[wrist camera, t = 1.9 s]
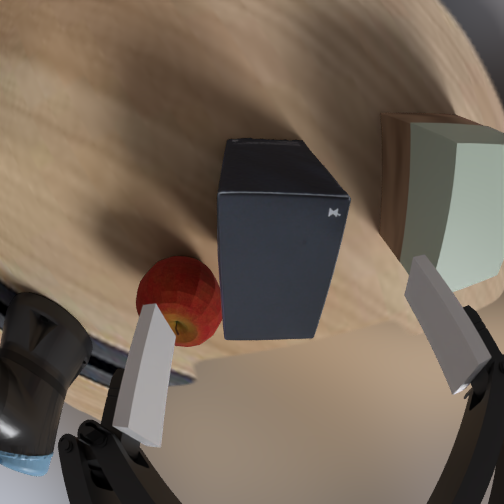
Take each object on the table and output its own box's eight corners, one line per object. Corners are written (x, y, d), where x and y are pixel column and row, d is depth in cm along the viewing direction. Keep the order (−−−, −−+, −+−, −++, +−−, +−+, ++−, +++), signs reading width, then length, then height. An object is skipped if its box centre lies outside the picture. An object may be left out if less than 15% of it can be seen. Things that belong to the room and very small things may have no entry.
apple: (202, 227, 24) (192, 288, 18) (237, 288, 29) (239, 350, 22) (133, 256, 26) (109, 315, 19) (174, 308, 30) (164, 367, 24)
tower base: (377, 232, 26) (399, 262, 22) (378, 112, 19) (411, 124, 15) (443, 219, 25) (469, 244, 21) (453, 114, 18) (488, 127, 14)
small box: (221, 136, 20) (210, 188, 11) (305, 139, 20) (359, 192, 12) (223, 251, 26) (220, 344, 17) (292, 250, 26) (318, 340, 18)
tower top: (399, 261, 22) (425, 301, 18) (410, 122, 15) (457, 143, 11) (469, 243, 21) (497, 274, 17) (488, 126, 14) (530, 147, 10)
